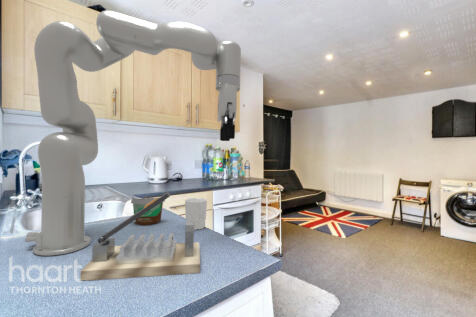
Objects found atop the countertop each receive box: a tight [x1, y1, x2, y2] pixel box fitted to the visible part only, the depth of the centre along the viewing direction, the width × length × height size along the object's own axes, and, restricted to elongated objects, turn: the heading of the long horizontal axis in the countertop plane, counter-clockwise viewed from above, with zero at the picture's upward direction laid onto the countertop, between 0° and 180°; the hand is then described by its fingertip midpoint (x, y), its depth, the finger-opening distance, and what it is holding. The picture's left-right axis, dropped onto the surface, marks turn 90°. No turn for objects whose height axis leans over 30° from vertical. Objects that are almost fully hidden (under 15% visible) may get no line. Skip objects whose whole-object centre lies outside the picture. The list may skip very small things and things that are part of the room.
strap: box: [97, 191, 171, 243], centre depth 55 cm, size 18×4×2 cm
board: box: [79, 241, 201, 281], centre depth 55 cm, size 24×13×2 cm, turn 100°
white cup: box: [184, 197, 208, 231], centre depth 84 cm, size 8×8×10 cm
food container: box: [130, 196, 166, 226], centre depth 87 cm, size 12×6×10 cm, turn 106°
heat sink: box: [91, 225, 195, 265], centre depth 55 cm, size 22×9×6 cm, turn 100°
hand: (226, 139), depth 72 cm, fingers open, 9 cm apart
